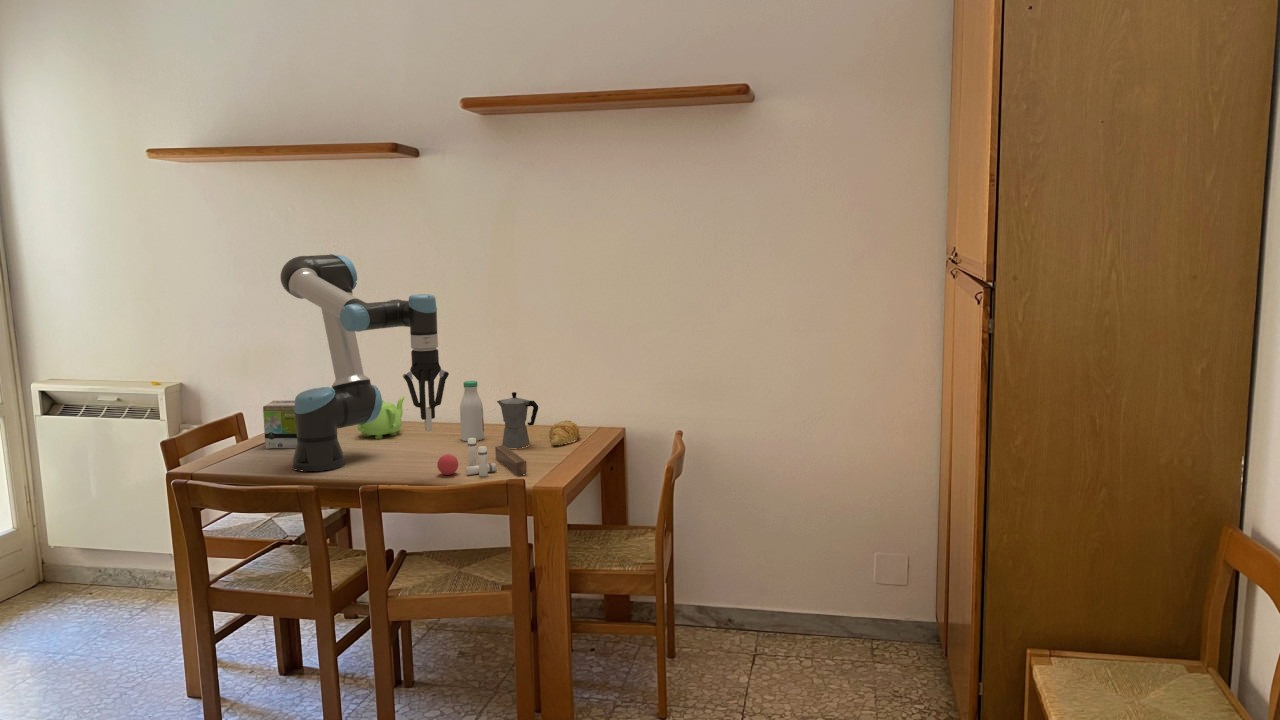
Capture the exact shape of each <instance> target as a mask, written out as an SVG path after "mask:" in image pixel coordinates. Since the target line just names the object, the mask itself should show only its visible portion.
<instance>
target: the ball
mask: <svg viewBox="0 0 1280 720" xmlns="http://www.w3.org/2000/svg"><path fill="white" fill-rule="evenodd" d="M437 469H438V471H439V472H440V473H441V474H443V475H445V476H450V475H454V473H456V472H457V470H458V469H459V461H458V458H457V457H456V456H454V455H453V454H450V453H448V454H442V456H440V458H438V461H437Z"/></svg>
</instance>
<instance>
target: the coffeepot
mask: <svg viewBox="0 0 1280 720" xmlns="http://www.w3.org/2000/svg"><path fill="white" fill-rule="evenodd" d="M517 393H518V392H515V391H513V392H511V396H512V397H510V398H505V399H499V400H497V401H496V403H497V404H499V406H500V409H501V414H502V420H503V422H504V430H503V437H502V444H501V446H506V447H507V448H522V447H526V446H528V445H529V446H530V444H531V443H530V438H529V434H528V428H527V426H526V422H527V416H528V408H529V407H532V413H531V417H530V422H527V425H528V426H533V425H535V421H536V417H537V416H538V415H537V414H538V411H539V405H538V404H537V402H536V401H535V400H529V399H525V398H520V397H517ZM526 448H527V447H526ZM522 449H523V448H522Z"/></svg>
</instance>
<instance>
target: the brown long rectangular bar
mask: <svg viewBox="0 0 1280 720" xmlns="http://www.w3.org/2000/svg"><path fill="white" fill-rule="evenodd" d="M496 459H497V460H498V462H499V463H500V464H501V463H502V464H503V465H502V464H501V465H502V466H504V467H505V468H506V467H507V468H508V469H507V468H506V469H507V470H509V471H510V472H511V473H513V475H515V476H516V475H521V476H524V475H523V474H526V473H527V461H526V460H525V459H523V457H521V456H519V455H518V454H517V453H515V452H514V451H513V450H512V449H509V448H507V447H506V446H502V445H498V446H495V460H496ZM497 460H496V461H497ZM527 474H528V473H527Z"/></svg>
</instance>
